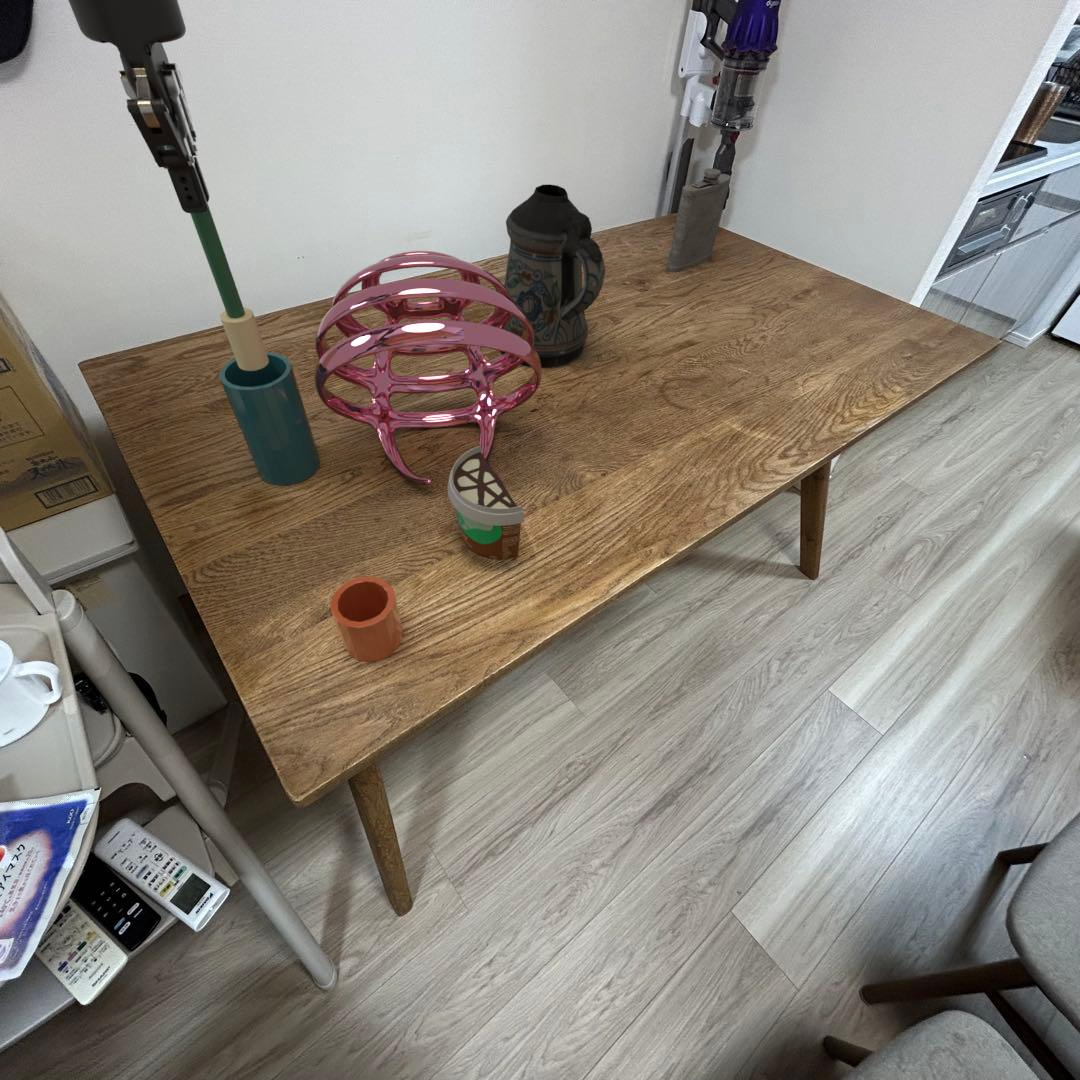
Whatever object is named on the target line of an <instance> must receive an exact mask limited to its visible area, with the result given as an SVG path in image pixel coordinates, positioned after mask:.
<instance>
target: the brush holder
mask: <svg viewBox="0 0 1080 1080" xmlns="http://www.w3.org/2000/svg"><path fill="white" fill-rule="evenodd" d="M330 614H331V616H332V618H333V621H334V624H335V626H336V630H337V632H338V634H339V637H340V640H341V642H342V645H343V647H344V649H345V650H346V652H347V654H348V655H349V656H350V657H352V658H353V659H355V660H357V661H361V662H366V663H371V662H372V663H375V662H378V661H382V660H384V659H386V658H388V657H390V656H391V655H392V654H394V653H395V652H396V651H397V650H398V648H399V647H400V645H401V644H402V641H403V637H404V629H403V628H404V627H403V624H402V619H401V615H400V612H399V606H398V603H397V598H396V593H395V590H394V589H393V587H392V586H391V585H390V583H389V582H388V581H386V580H384V579H382V578H380V577H377V576H369V575H365V576H360V577H355V578H352V579H350V580H349V581H347V582H344V583H342V585H341V586H340V587H339V588H338V589H337V590H335V592H334V593H333V595H332V598H331V600H330Z"/></svg>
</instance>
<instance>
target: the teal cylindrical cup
mask: <svg viewBox="0 0 1080 1080" xmlns="http://www.w3.org/2000/svg"><path fill="white" fill-rule="evenodd" d="M266 353H267V356H268V359H269V363H268V364H267V365H266V366H265V367H264V368H262V369H259V370H255V371H246V370H242V369H240V368H239V366H238V364H237V361H236V359H235V358H233V359H230V360H229V361H228V362H227V363H225V364H223V366H222V367H221V369H220V371H219V376H218V377H219V381H220V383H221V385H222V388H223V389H224V393H225V395H226V397H227V400H228V402H229V405H230V407H231V409H232V411H233V414H234V417H235V419H236V422H237V424H238V426H239V429H240V431H241V434H242V436H243V439H244V441H245V443H246V446H247V449H248V450H249V453H250V456H251V459H252V460H253V463H254V465H255V467H256V470H257V472H258V475H259V476H260V478H261V479H262V480H263V481H265V482H266V483H268V484H271V485H276V486H291V485H296V484H299V483H303V482H304V481H306V480H308V479H309V478H311V477H312V476H313V475H314V474H316V472H317V471H318V469H319V468H320V464H321V459H320V456H319V451H318V448H317V445H316V441H315V439H314V436H313V432H312V428H311V425H310V422H309V419H308V416H307V411H306V409H305V405H304V402H303V399H302V396H301V392H300V388H299V386H298V382H297V379H296V376H295V373H294V369H293V365H292V363H291V362H290V360H289V359H288V358H287V357H286V356H284V355H282V354H280V353H275V352H269V351H268V352H267V351H266Z"/></svg>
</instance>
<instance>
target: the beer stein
mask: <svg viewBox="0 0 1080 1080" xmlns="http://www.w3.org/2000/svg"><path fill="white" fill-rule="evenodd" d="M568 195H569V194H568V192H567V190H566V188H564V187H562V186H560V185H557V184H556V185H555V184H541V185H539V186H536V187H535V188H534V191H533V193H532V194H531V195H530V196H529V197H528V198H527V199H526V200H524V201H523V202H521V203H520V204H518V205H517V206H516V207H515V208H513V209H512V211H511V212H510V213H509V214H508V216H507V218H506V220H505V227H506V232H507V235H508V238H510V240H509V250H508V257H507V264H506V271H505V278H504V283H503V285H504V286H505V287H506V289H507V290H508V292H509V294H510V296H511V298H512V300H514V301H515V302H516V303H517V304H518V305H519V306H520V307H521V308H522V309H523V310H524V312H525V313H526V315H527V316H528V318H529V320H530V322H531V325H532V328H533V331H534V345H533V347H534V348H535V350H536V351H537V353H538V355H539V357H540V360H541V366H542V369H543V368H545V369H546V368H547V369H551V368H555V367H559V366H563V365H568V364H569V363H571V362H573V361H575V360H576V359H578V358H579V356H580V355H581V354H582V352H583V350H584V347H585V344H586V342H587V338H588V335H589V325H588V322H587V318H586V314H585V311H586V310H588V308H590V307H591V306H592V304H593V303H594V302H595V301H596V300H597V299H598V297H599V295H600V293H601V290H602V288H603V286H604V281H605V276H606V266H605V260H604V257H603V253H602V251H601V249H600V246H599V244H598V243H597V242H596V241H595V240H594V239H592V238H591V236H592V231H593V227H592V223H591V220H590V217H589V216H588V215H587V214H585V213H583V212H580V211H579V209H578V207H576V206H575V205H574V203H573V202H572V201H571V200H570V199H569V196H568ZM583 274H584V275H583ZM583 276H584V280H583ZM503 329H504V330H507V331H509V332H512V333H514V334H516V335H518V336H520V337H521V336H522V334H523V330H524V325H523V323H522V322H521V321H520V320H519V319H517V318H516V317H515V316H513V315H512V316H511V318H510V320H509V322H508V324H507V325H506V326H505V327H504V328H503ZM499 353H500V354H501V356H503V355H504V354H506V353H505V352H502V351H499ZM520 366H525V367H530V368H532V367H531V366H530V365H529V364H528V363H526V362H525V361H524V362H523V363H522V364H520Z"/></svg>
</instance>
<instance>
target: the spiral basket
mask: <svg viewBox="0 0 1080 1080" xmlns="http://www.w3.org/2000/svg"><path fill="white" fill-rule="evenodd" d="M411 268H440V269H441V268H442V269H450V270H455V271H458V272H459V275H460V277H461V279H449V278H437V277H436V278H435V277H434V278H430V277H428V278H427V277H426V278H410V279H401V280H394V281H390V282H385V283H381V282H380V278H381V276H382V274H384V273H388V272H392V271H398V270H403V269H404V270H405V269H411ZM480 278H481V279H483V280H485V281H487V282H488V283H489V284H491V285H492V287H494V288H491V287H488V286H485V285H482V284H481V280H480ZM360 283H361V284H360ZM358 284H360V285H361V290H359V291H356V292H354V293H352V294H350V295H348V294H349V292H350V291H351V290H352V289H353V288H355V286H357V285H358ZM425 298H430V299H431V298H438V299H436V300H432V301H420V302H419V301H409V300H411V299H425ZM473 302H475V303H476V302H477V303H481V304H485V305H489V306H491V307H494V309H493V311H492V312H491V313H490V314H489V315H488V316H487V317H486V318H484V319H483V320H482V321H481V322H473V321H467V320H466V318H465V317H464V314H463V310H464V309H466V308H467V307H469V306H470V305H471V304H472V303H473ZM370 307H373V308H375V309H376V310H378V311H380V312H382V313H384V314H385V315H386V320H385V323H384V325H383V326H379V327H374V328H370V327H368V326H366V325H364V324H363V323H361V322H359V321H358V320H357V319H356V318H355V317H354V316H353V314H355V313H357V312H359V311H362V310H365V309H368V308H370ZM512 315H513V316H515V317H516V318H517V319H519V320H520V321H521V322H522V323H523V325H524V330H523V334H522V336H521V337H520V336H518V335H516V334H514V333H512V332H509V331H507V330H504V329H503V328H504V327H505V326H506V325H507V324H508V322H509V320H510V318H511V316H512ZM443 317H446V318H447V317H448V318H449V319H438V318H443ZM403 319H409V320H412V321H404V322H401V320H403ZM450 319H451V320H450ZM413 320H414V321H413ZM334 326H336V328H337V329H338V331H339V332H340V333H342V334H343V336H344V337H346V338H344V339H343V340H341V341H339V342H338V343H336V344H335V345H333V346H332V347H330V346H329V344H328V342H327V339H326V335H327V333H328V332H329V331H330V329H332V327H334ZM315 335H316V336H315V344H314V345H315V352H316V355H317V358H318V362H317V364H316V367H315V370H314V385H315V390H316V393H317V395H318V397H319V399H320V401H321V402H322V403H323V404H324V405H325V406H326V408H328V409H329V410H330V411H332V412H333V413H334V414H337V415H339V416H341V417H343V418H346V419H348V420H351V421H354V422H357V423H361V424H364V425H367V426H370V427H372V428H373V429H374V431H375V432H376V435H377V436H378V438H379V441H380V444H381V446H382V449H383V451H384V453H385V455H386V456H387V458H388V460H389V461H390V463H391V464H392V466H393V467H394V468H395V469H396V470H397V471H398V472H399V473H400V474H401V475H402V476H403V477H405V478H407V480H410V481H412V482H413V483H416V484H419V485H424V486H428V485H431V484H432V480H431V479H430V478H427V477H423V476H420V475H418V474H416V473H415V472H413V471H412V470H411V469H410V468H409V466H408V465H407V463H406V462H405V460H404V458H403V456H402V454H401V451H400V449H399V447H398V444H397V441H396V437H395V431H397V430H400V429H401V430H402V429H408V430H409V429H412V430H414V429H420V430H421V429H437V428H439V429H440V428H449V427H455V426H456V427H457V426H461V425H467V424H477V425H478V427H479V439H478V446H480V445H481V450H482V455H483V456H484V458H485V459H486V460H487V459H488V456H489V454H490V452H491V449H492V445H493V441H494V436H495V429H496V423H497V421H498V419H499V417H501V416H503V414H505V413H507V412H510V411H512V410H513V409H516V408H518V407H520V406H521V405H522V404H524V403H525V402H527V401H528V400H530V399H531V398H532V397H533V396H534V395H535V394H536V392H537V391H538V389H539V387H540V385H541V381H542V376H543V368H542V366H541V360H540V357H539V355H538V353H537V351H536V350H535V348H534V347H533V345H534V331H533V328H532V325H531V322H530V320H529V318H528V316H527V315H526V313H525V312H524V310H523V309H522V308H521V307H520V306H519V305H518V304H517V303H516V302H515V301H514V300H512V298H511V296H510V294H509V292H508V290H507V289H506V287H505V286H504V283H503V282H501V280H499V279H498V278H497V277H496V276H495V275H493V274H492V273H491V272H489V271H488V270H486V269H484V268H482V267H481V266H479V265H477V264H474V263H472V262H469V261H466V260H463V259H460V258H458V257H456V256H453V255H450V254H447V253H443V252H439V251H433V250H432V251H431V250H413V251H412V250H411V251H405V252H399V253H396V254H391V255H390V256H387V257H385V258H383V259H380V260H379V261H377V262H376V263H372V264H371V265H368V266H366V267H363V268H362V269H361V270H359V271H357V272H356V273H354V274H353V275H352V276H350V277H349V278H348V279H346V280H345V282H344V283H343V284H342V285H341V286H340V288H339V289H338V290H337V292H336V294H335V296H334V297H333V300H332V304H331V308H330V309H329V310H328V311H327V312H326V314H325V315H324V316H323V317H322V319H321V321H320V323H319V325H318V328H317V332H316V334H315ZM482 348H485V349H491V350H495V351H498V352H500V351H502V352H505V353H506V354H504V355H501V356H499V357H498V358H496V359H493V360H487V359H486V357H485V356H484V354H483V351H482ZM454 353H464V354H465V355H466V357H467V360H468V366H467V368H466V369H464V370H461V371H456V372H450V373H443V374H432V375H401V374H396V373H394V372H393V371H392V369H391V362H392V360H393V359H394V357H397V356H407V357H431V356H433V357H435V356H442V355H448V354H454ZM371 355H374V362H373V365H372V367H370V368H364V367H362V366H358V365H356V364H354V363H353V362H355V361H358V360H360V359H362V358H365V357H368V356H371ZM524 361H525V362H526V363H528V364H529V365H530V366H531V367H530V368H532V370H533V373H532V375H530V376H529V378H528V379H527V380H526V381H525V382H524V383H523V384H522V385H520V386H519V387H517V388H516V389H514V390H512V391H511V392H509V393H507V394H505V395H503V396H496V394H495V393H494V383H496V381H497V380H498V379H499V378H501V377H503V376H506V375H508V374H509V373H511V372H512V371H514V370H515V369H517V368H518V367H519V366H521V364H522V363H523V362H524ZM332 375H334V376H335V377H338V378H339V379H341V380H342V381H345V382H348V383H350V384H352V385H356V386H359V387H362V388H364V389H366V390H367V391H369V393H370V396H371V404H370V405H369V406H364V405H359V404H357V403H353V402H350V401H348V400H346V399H343V398H341V397H339V396H338V395H336V394H335V393H333V392H331V391H330V390H329V389H328V388H327V387H326V385H325V384H326V382H327V381H328V379H329V378H330V377H331V376H332ZM466 389H470V390H473V391H475V393H476V401H475V403H473V404H472V405H469V406H467V407H462V408H461V407H460V408H457V409H456V408H455V409H449V410H448V409H447V410H440V411H438V410H437V411H420V412H419V411H416V412H415V411H413V412H412V411H410V412H409V411H398V410H395V409H394V408H393V407H392V406H391V402H390V401H391V397H392V396H393V395H395V394H408V395H410V394H411V395H412V394H414V395H417V394H418V395H421V394H422V395H423V394H439V393H440V394H441V393H448V392H454V391H461V390H466Z"/></svg>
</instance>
